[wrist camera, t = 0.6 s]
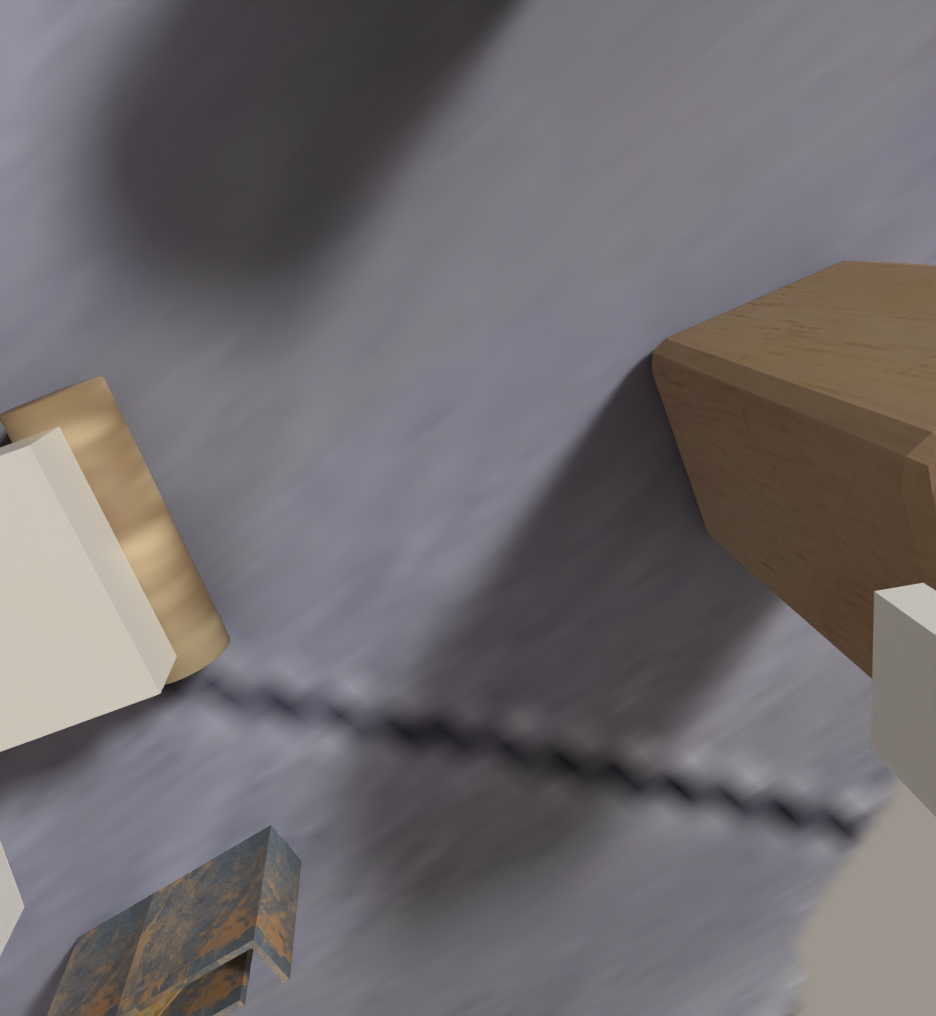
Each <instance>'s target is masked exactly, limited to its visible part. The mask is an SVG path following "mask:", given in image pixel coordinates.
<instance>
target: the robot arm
mask: <svg viewBox="0 0 936 1016" xmlns="http://www.w3.org/2000/svg"><path fill="white" fill-rule="evenodd" d="M871 750H872V751H873V752H874V753H875V754H876V756H877V757H878V758H879V759H880V760H881V761H882V762H883V763H884V764H885V765H886V766H887V767H888V768H889V769H890V770H891V771H892V772H893V773H894V774H895V775H896V776H897V777H898V778H899V779H900V780H901V781H902V782H903V783H904V784H905V785H906V786H907V787H908V788H909V790H910V791H911V792H912V793H913V794H914V795H915V796H916V797H917V798H918V799H919V800H920V801H921V802H922V803H923V804H924V805H925V806H926V807H927V808H928V809H929V810H930V811H931V812H932V813H933V814H934V815H935V816H936V590H934V589H932V588H931V587H929V586H928V585H926V584H925V583H919V584H913V585H907V586H901V587H896V588H890V589H884V590H878V591H874V622H873V667H872V712H871ZM23 909H24V904H23V902H22V899H21V896H20V893H19V891H18V888H17V885H16V883H15V880H14V877H13V874H12V872H11V869H10V866H9V864H8V861H7V858H6V855H5V853H4V850H3V847H2V845H1V842H0V955H1V953H2V951H3V949H4V947H5V945H6V943H7V941H8V939H9V937H10V935H11V933H12V931H13V929H14V927H15V925H16V923H17V921H18V919H19V917H20V915H21V913H22V911H23Z"/></svg>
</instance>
